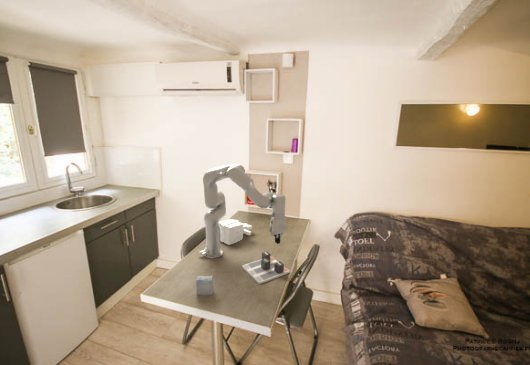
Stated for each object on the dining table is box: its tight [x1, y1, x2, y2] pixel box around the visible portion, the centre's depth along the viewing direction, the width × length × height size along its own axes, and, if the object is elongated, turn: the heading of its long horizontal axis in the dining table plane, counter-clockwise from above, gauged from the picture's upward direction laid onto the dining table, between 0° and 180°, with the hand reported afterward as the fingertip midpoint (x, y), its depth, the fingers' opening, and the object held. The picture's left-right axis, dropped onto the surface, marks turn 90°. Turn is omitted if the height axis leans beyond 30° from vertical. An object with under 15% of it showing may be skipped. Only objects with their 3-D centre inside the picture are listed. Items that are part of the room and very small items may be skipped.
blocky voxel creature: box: [219, 218, 253, 246], centre depth 194 cm, size 15×25×28 cm
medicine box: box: [195, 275, 214, 296], centre depth 131 cm, size 8×4×9 cm, turn 92°
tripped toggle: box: [260, 258, 270, 270], centre depth 153 cm, size 4×4×5 cm
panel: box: [241, 250, 291, 285], centre depth 153 cm, size 22×20×6 cm
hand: (277, 242), depth 154 cm, fingers closed
